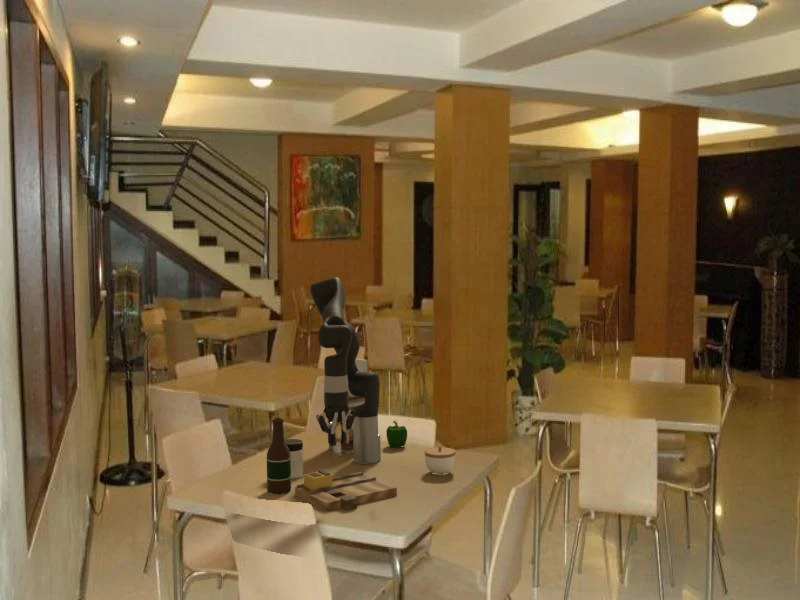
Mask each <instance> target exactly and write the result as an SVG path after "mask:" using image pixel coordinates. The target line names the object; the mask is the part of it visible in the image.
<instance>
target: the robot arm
mask: <svg viewBox="0 0 800 600" xmlns="http://www.w3.org/2000/svg"><path fill="white" fill-rule="evenodd" d="M309 291H310V295H311V298H312V300H313V303H314V305H315V306H316V309H317V311H318V313H319V315H320V317H321V321H322V322H321V323H322V324H321V326H320V327H319V330H318V334H317V341H318V344H319V346H321V347H322V348H324V349H334V351H335V354H332V355H328V356H326V357H325V358H324V363H323V365H324V366H323V367H324V369H323V370H324V371H323V372H324V378H323V379H324V380H323V404H324V409H323V412H322V413H321V414H317V415H316V416H315V417H316V420H317V423H318V425H319V427H320V429H321V432H324V433H326V434H327V444H328V445H329V444H330V445H331V446H335V434H334V430H335V427H336V422H337V423H341V424H342V440H341V444H345V441H346V431H347V430H348V429H351V427H352V424H353V452H352V454H353V456H352V457H353V462H354V463H355V462H357V463H356V464H359V463H371V464H374V463H373V462H376V461H378V460H380V461H381V460H382V458H381V457H382V455H381V454H382V453H381V452H382V451H381V446H382V445H381V435H380V434H379V408H380V390H381V388H380V387H381V386H380V377H379V375H378V374H377V373H376V372H373V371H367V372H362V371H359V370H358V369H357V366H356V363H355V360H356V358H357V357H358V355H359V352H360V348H361V344H360V340H359V338H358V337H359V336H358V335H357V331H356V329H355V327H354V326H352V324H351V323H348V322H347V321H346V320H345V316H344V310H345V304H346V292H345V291H346V290H345V287H344V285H343V282H342V281H341V279H340V278H339V277H338V276H332V277H328V278H326V279H323V280H319V281H316V282H313V283H312V284H311V285H310V288H309ZM348 390H349V392H350V393H351V394H352V395H354V396H360V397H365V402H364V404H362V405H358V406H356V407H354V408H353V410H350V409H349V407H348ZM346 415H348V416H347V419H346V418H345V417H346ZM326 419H327V420H326ZM378 462H379V461H378ZM376 463H377V462H376Z"/></svg>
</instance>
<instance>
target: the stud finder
mask: <svg viewBox="0 0 800 600" xmlns="http://www.w3.org/2000/svg"><path fill="white" fill-rule="evenodd" d="M333 478H334V477H333V474H332V473H331V472H329V471H326V470H324V469H318V470H317V471H314V472H310V473H309V472H308V473H303V480H304V481H303V484H304V487H306V488H309V489H311V490H313V489H318V488H323V487H328V486H332V485H333Z"/></svg>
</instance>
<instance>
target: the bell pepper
mask: <svg viewBox="0 0 800 600" xmlns="http://www.w3.org/2000/svg"><path fill="white" fill-rule="evenodd" d="M392 422H393V424H394V425H393V426H392V425H389V426H388V427H387V428H386V433H385V435H386V440H387V443H388V446H389V447H390V446H391V447H390V448H392V447H398V448H401V447H400V446H404V447H405V445H406V444H407V443H406V442H407V439H408V430H407V427H406V426H405V425H401V426H398V422H397V421H396V420H393V421H392Z"/></svg>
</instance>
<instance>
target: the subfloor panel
mask: <svg viewBox="0 0 800 600" xmlns="http://www.w3.org/2000/svg"><path fill="white" fill-rule="evenodd" d="M294 495H295V496H296V497H298V498H300V499H302V500H304V501H306V502H308V503H310V504H312V505H314V506H316V507H318V508H320V509H322V510H324V511H326V512H329V511H332V510H338V509H343V510H345V511H348V510H354V509H358V505H359V504H364V503H368V502H373V501H377V500H381V499H387V498H390V497H391V498H392V497H394V496H398V487H397V486H394V485H391V484H389V483H386V482H384V481H382V480H379V479H377V477H376V476H370V475H366V474H365V473H364V472H363V471H360V472H354V473H351V474H345V475H340V476H334V477H333V485H332V486H328V487H323V488H318V489H313V490H311V489H309V488H306V487H304V483H299V484H296V487H294Z"/></svg>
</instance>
